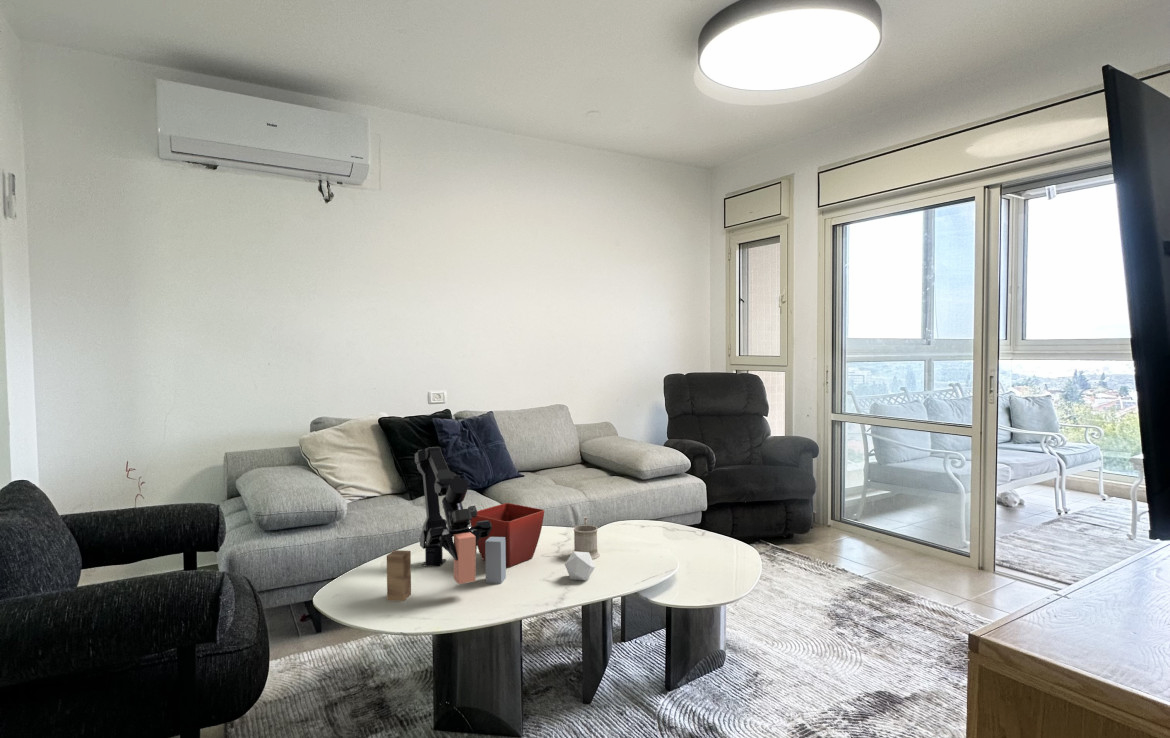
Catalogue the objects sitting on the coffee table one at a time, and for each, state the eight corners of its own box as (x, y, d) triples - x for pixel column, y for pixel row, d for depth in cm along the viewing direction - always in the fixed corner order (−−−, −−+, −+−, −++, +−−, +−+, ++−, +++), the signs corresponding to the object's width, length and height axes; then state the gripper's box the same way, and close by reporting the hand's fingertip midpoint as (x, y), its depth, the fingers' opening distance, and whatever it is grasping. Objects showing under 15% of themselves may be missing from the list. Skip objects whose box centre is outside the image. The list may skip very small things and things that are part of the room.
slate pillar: (490, 577, 193) (490, 536, 192) (505, 578, 192) (505, 537, 192) (485, 582, 188) (485, 541, 188) (501, 583, 187) (500, 541, 187)
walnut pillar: (395, 593, 179) (394, 550, 179) (411, 594, 179) (410, 550, 179) (387, 600, 175) (386, 555, 174) (403, 601, 174) (402, 556, 174)
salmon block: (453, 578, 178) (453, 534, 177) (470, 575, 180) (470, 532, 180) (458, 584, 173) (458, 538, 173) (475, 581, 176) (475, 536, 175)
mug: (599, 560, 208) (599, 525, 208) (571, 560, 208) (571, 525, 208) (599, 547, 223) (599, 514, 223) (573, 547, 223) (572, 515, 223)
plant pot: (508, 573, 196) (507, 521, 196) (468, 562, 208) (467, 513, 208) (546, 557, 212) (545, 509, 211) (507, 548, 223) (506, 502, 223)
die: (598, 577, 193) (584, 548, 198) (599, 572, 185) (585, 542, 190) (574, 589, 191) (561, 560, 196) (574, 584, 184) (560, 554, 188)
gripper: (428, 501, 175) (439, 549, 166) (489, 493, 184) (503, 538, 175) (422, 521, 182) (432, 569, 173) (481, 513, 191) (493, 558, 182)
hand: (466, 558), depth 175 cm, fingers closed on salmon block, 5 cm apart
